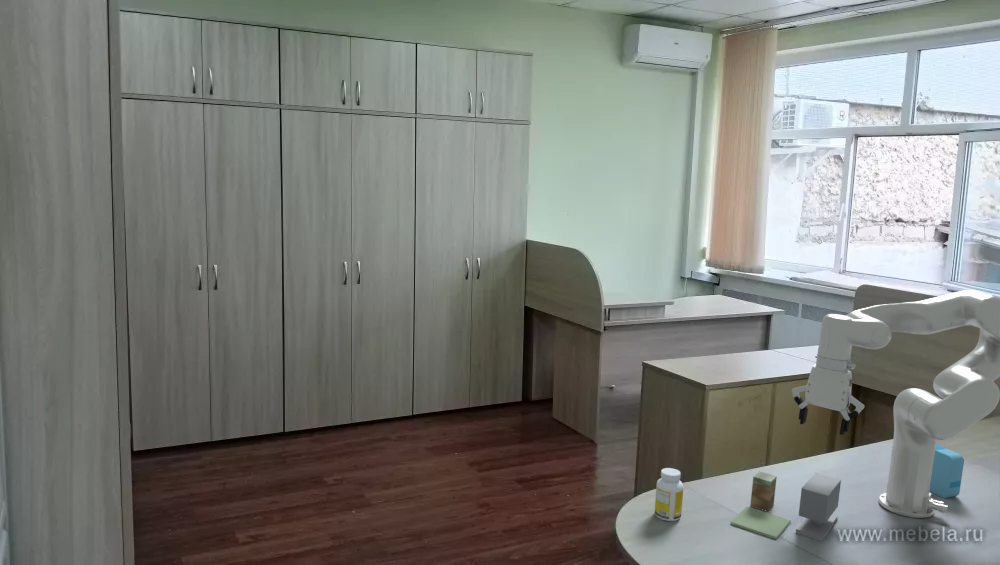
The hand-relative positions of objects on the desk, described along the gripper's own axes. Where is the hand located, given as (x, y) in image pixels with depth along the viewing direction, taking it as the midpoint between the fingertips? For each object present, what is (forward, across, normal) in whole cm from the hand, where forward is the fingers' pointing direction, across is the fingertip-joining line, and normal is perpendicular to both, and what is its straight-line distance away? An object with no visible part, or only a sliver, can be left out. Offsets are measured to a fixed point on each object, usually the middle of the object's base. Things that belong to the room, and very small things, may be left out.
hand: (822, 428), depth 187 cm
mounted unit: (+21, -4, +11) cm, 24 cm away
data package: (+20, -23, -34) cm, 46 cm away
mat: (+22, +6, +19) cm, 29 cm away
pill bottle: (+23, +26, +31) cm, 46 cm away
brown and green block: (+22, +10, +9) cm, 25 cm away
